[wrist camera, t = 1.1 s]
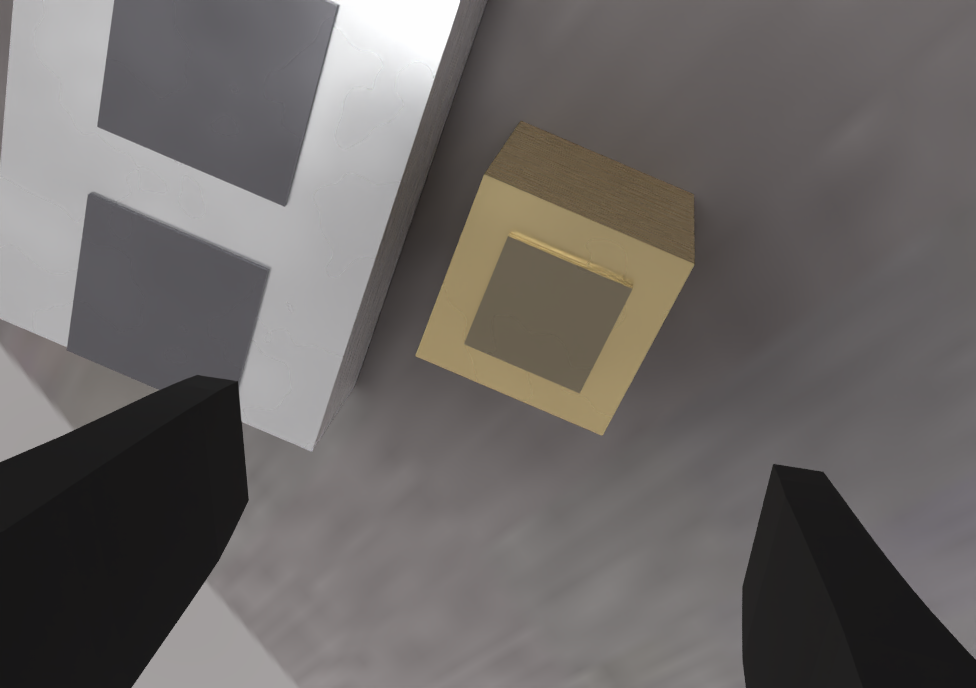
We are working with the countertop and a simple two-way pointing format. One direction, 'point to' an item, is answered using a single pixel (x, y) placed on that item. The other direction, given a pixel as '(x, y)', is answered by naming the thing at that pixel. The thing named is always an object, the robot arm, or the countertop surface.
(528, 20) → the countertop surface
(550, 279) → the block
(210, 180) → the grey board with holes
